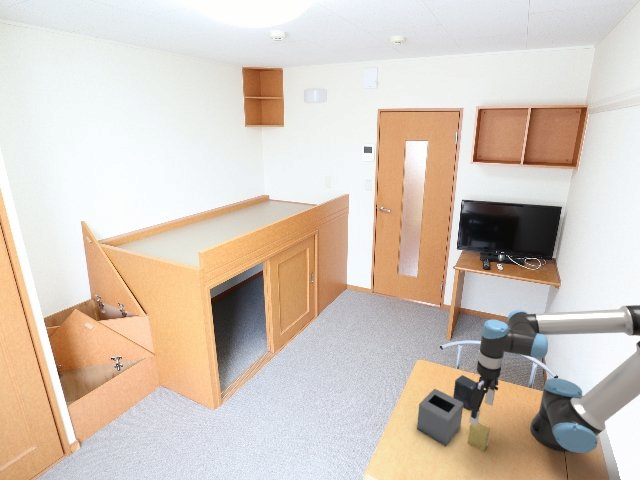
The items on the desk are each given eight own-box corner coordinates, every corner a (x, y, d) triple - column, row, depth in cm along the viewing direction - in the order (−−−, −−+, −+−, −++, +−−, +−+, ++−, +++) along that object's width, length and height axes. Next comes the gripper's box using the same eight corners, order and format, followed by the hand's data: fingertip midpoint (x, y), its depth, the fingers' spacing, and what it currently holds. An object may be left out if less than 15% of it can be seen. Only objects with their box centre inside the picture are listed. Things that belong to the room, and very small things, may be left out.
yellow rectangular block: (487, 446, 142) (490, 428, 140) (483, 451, 140) (486, 434, 137) (471, 437, 146) (473, 420, 144) (467, 442, 144) (469, 425, 141)
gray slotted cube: (460, 428, 150) (463, 403, 147) (445, 446, 142) (449, 420, 139) (432, 412, 158) (434, 388, 155) (416, 429, 150) (419, 403, 146)
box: (476, 404, 163) (479, 383, 160) (469, 410, 159) (472, 389, 156) (459, 394, 169) (462, 374, 165) (452, 400, 165) (455, 379, 162)
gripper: (492, 344, 143) (484, 391, 150) (463, 375, 126) (455, 426, 133) (513, 352, 138) (504, 401, 145) (486, 385, 121) (477, 439, 128)
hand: (481, 413), depth 139 cm, fingers open, 13 cm apart
